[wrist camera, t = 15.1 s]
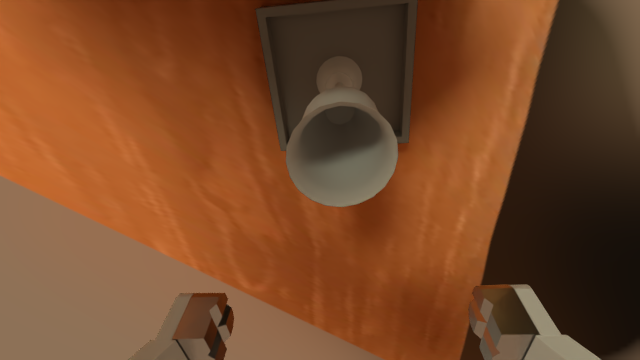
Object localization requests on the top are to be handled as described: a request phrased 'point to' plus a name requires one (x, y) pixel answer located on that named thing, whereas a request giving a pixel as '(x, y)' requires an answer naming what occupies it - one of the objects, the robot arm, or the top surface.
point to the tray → (339, 40)
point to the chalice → (341, 141)
